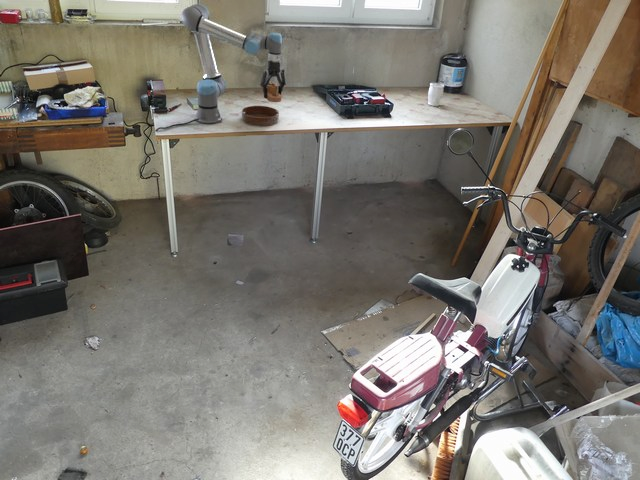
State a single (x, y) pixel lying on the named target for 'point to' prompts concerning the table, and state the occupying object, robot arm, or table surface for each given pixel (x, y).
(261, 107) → the brown shallow bowl
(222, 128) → the table surface
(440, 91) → the jar
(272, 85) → the bracket
